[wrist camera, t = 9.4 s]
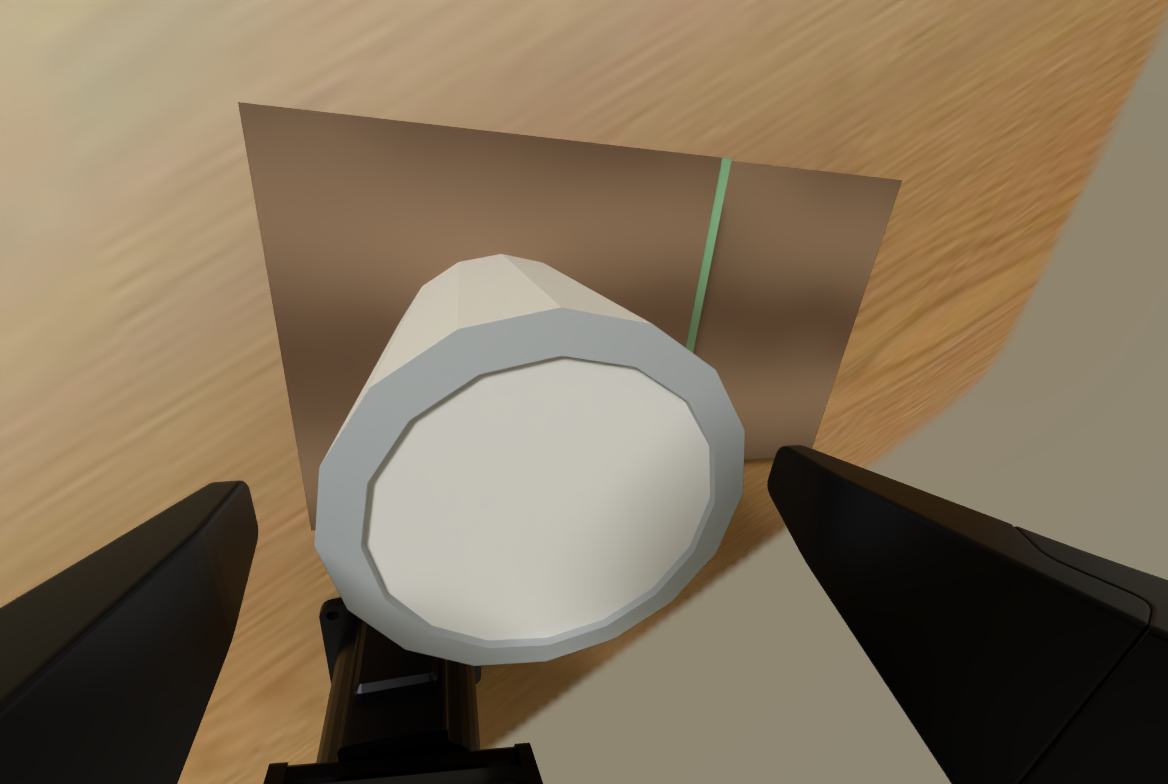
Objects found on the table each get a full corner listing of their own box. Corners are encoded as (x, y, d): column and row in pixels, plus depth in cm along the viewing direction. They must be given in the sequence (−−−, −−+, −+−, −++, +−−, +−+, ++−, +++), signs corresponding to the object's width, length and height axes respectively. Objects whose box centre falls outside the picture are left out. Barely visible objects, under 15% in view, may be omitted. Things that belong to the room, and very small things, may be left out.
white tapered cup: (419, 178, 11) (401, 219, 5) (660, 290, 14) (826, 399, 8) (336, 427, 14) (256, 657, 8) (561, 482, 16) (635, 683, 10)
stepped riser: (789, 431, 23) (850, 481, 20) (335, 456, 18) (311, 530, 15) (867, 178, 19) (964, 185, 15) (288, 112, 14) (238, 102, 10)
